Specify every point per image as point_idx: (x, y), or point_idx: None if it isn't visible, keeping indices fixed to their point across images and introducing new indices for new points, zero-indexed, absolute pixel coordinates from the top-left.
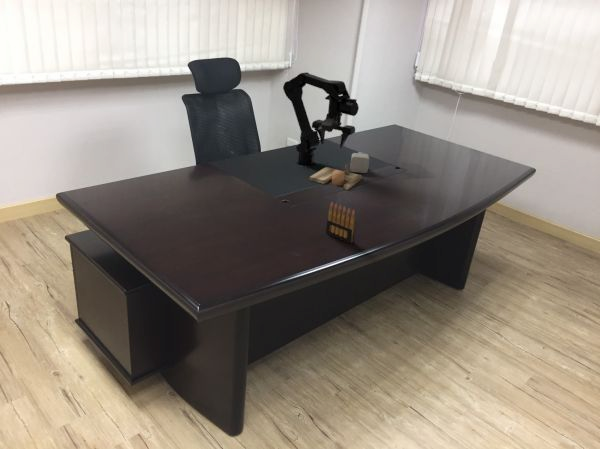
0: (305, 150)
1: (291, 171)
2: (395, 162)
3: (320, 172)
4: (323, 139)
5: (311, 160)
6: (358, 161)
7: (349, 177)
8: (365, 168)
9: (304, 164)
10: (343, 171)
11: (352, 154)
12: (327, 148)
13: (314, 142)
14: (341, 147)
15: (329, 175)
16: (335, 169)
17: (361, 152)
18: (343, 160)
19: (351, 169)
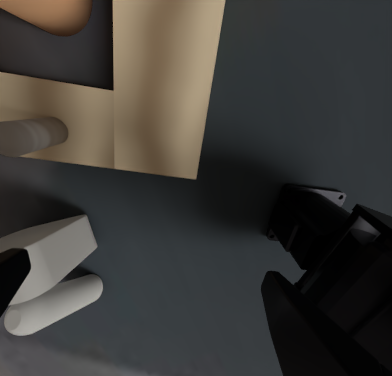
0: (369, 213)
1: (362, 64)
2: (10, 356)
3: (195, 72)
4: (285, 340)
5: (284, 212)
6: (6, 245)
7: (5, 75)
8: (7, 236)
9: (305, 187)
10: (88, 160)
11: (39, 286)
12: (250, 363)
13: (348, 301)
14: (4, 257)
15: (126, 44)
16: (138, 169)
17: (9, 331)
18: (167, 304)
19: (79, 217)
